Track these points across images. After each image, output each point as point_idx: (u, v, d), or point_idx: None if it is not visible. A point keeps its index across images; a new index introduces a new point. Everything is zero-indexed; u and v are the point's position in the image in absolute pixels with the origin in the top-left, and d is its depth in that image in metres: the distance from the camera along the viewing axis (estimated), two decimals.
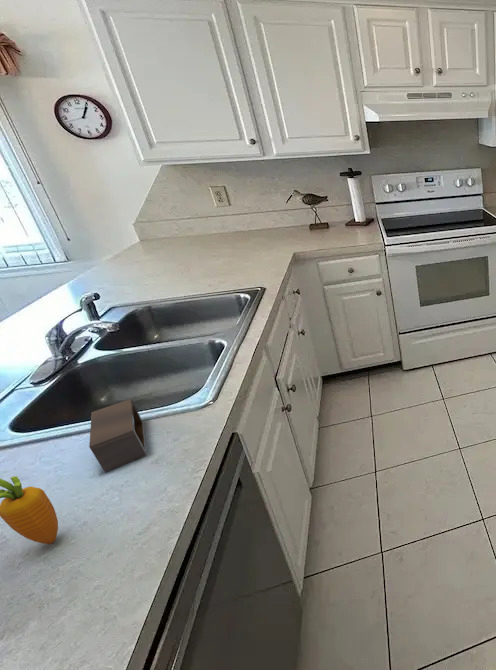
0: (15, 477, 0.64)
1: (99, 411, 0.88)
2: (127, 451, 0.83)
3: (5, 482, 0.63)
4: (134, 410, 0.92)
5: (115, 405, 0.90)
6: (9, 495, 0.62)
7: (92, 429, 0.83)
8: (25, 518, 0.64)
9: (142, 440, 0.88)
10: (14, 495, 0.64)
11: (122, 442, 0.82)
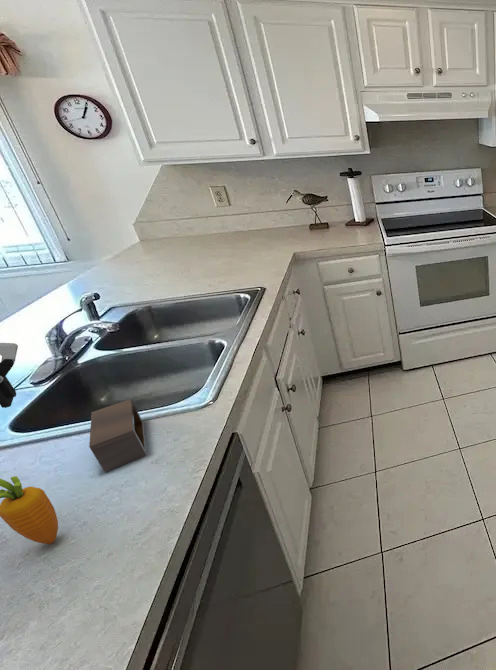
0: (15, 477, 0.64)
1: (99, 411, 0.88)
2: (127, 451, 0.83)
3: (5, 482, 0.63)
4: (134, 410, 0.92)
5: (115, 405, 0.90)
6: (9, 495, 0.62)
7: (92, 429, 0.83)
8: (25, 518, 0.64)
9: (142, 440, 0.88)
10: (14, 495, 0.64)
11: (122, 442, 0.82)
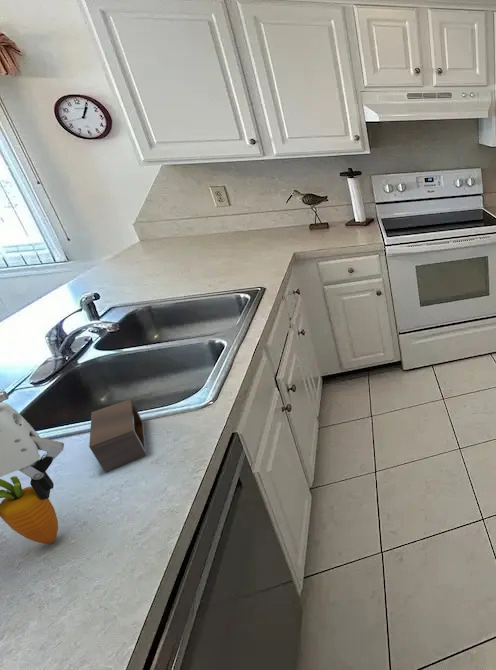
0: (15, 477, 0.64)
1: (99, 411, 0.88)
2: (127, 451, 0.83)
3: (5, 482, 0.63)
4: (134, 410, 0.92)
5: (115, 405, 0.90)
6: (9, 495, 0.62)
7: (92, 429, 0.83)
8: (25, 518, 0.64)
9: (142, 440, 0.88)
10: (14, 495, 0.64)
11: (122, 442, 0.82)
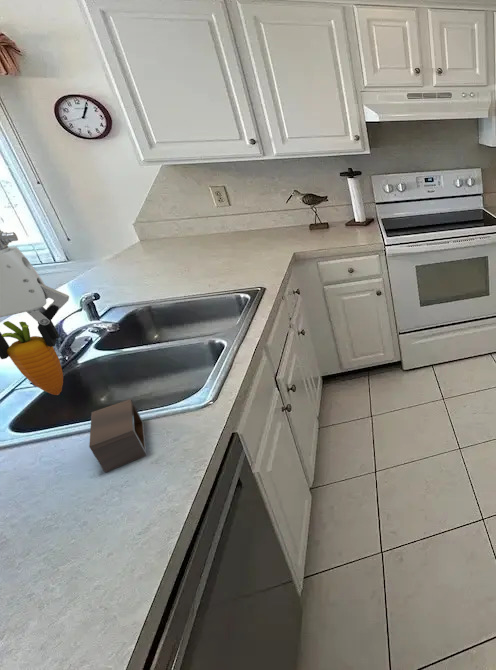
0: (23, 322, 0.68)
1: (99, 411, 0.88)
2: (127, 451, 0.83)
3: (14, 325, 0.68)
4: (134, 410, 0.92)
5: (115, 405, 0.90)
6: (18, 336, 0.67)
7: (92, 429, 0.83)
8: (32, 360, 0.68)
9: (142, 440, 0.88)
10: (22, 339, 0.68)
11: (122, 442, 0.82)
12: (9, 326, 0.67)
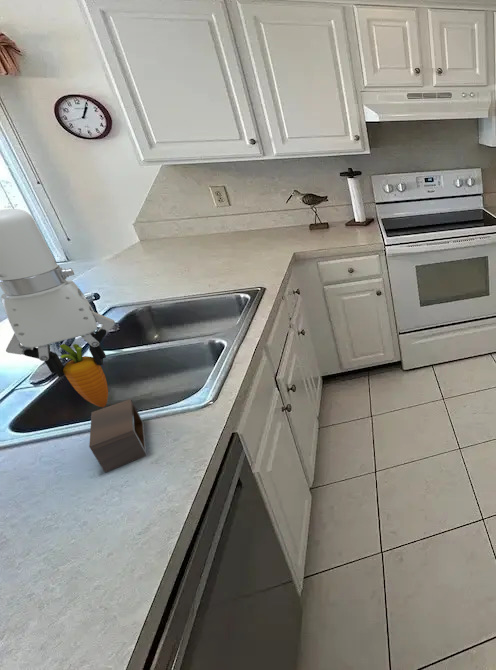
0: (76, 344, 0.78)
1: (99, 411, 0.88)
2: (127, 451, 0.83)
3: (69, 348, 0.78)
4: (134, 410, 0.92)
5: (115, 405, 0.90)
6: (72, 357, 0.77)
7: (92, 429, 0.83)
8: (85, 378, 0.78)
9: (142, 440, 0.88)
10: (76, 359, 0.78)
11: (122, 442, 0.82)
12: (65, 348, 0.77)
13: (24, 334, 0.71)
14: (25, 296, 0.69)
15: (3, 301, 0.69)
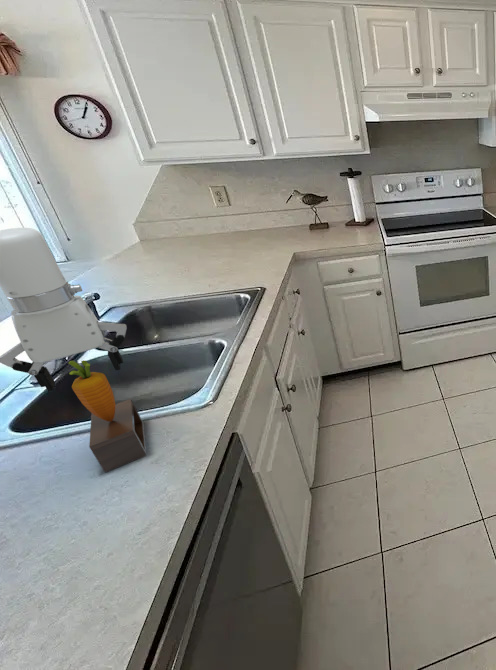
0: (85, 361, 0.80)
1: None
2: (127, 451, 0.83)
3: (77, 364, 0.79)
4: (134, 410, 0.92)
5: (115, 405, 0.90)
6: (81, 374, 0.79)
7: (92, 429, 0.83)
8: (93, 393, 0.80)
9: (142, 440, 0.88)
10: (84, 375, 0.80)
11: (122, 442, 0.82)
12: (73, 365, 0.79)
13: (33, 350, 0.73)
14: (35, 313, 0.70)
15: (13, 318, 0.70)
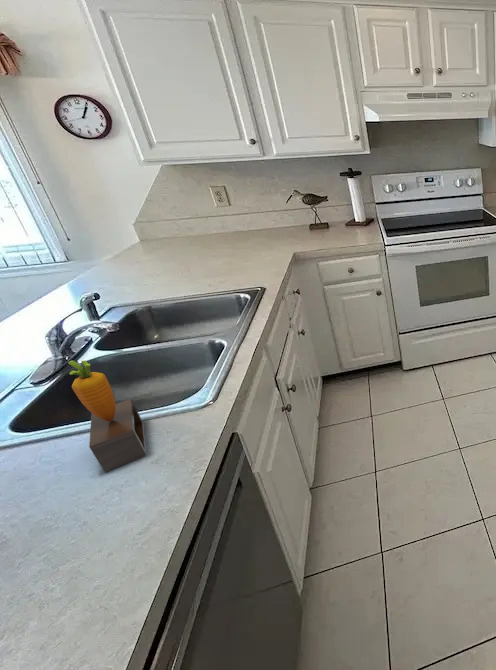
0: (85, 361, 0.80)
1: None
2: (127, 451, 0.83)
3: (77, 364, 0.79)
4: (134, 410, 0.92)
5: (115, 405, 0.90)
6: (81, 374, 0.79)
7: (92, 429, 0.83)
8: (93, 393, 0.80)
9: (142, 440, 0.88)
10: (84, 375, 0.80)
11: (122, 442, 0.82)
12: (73, 365, 0.79)
13: None
14: None
15: None
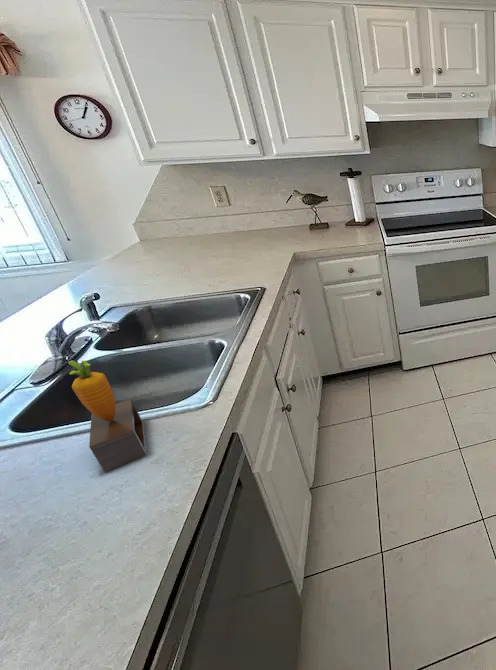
0: (85, 361, 0.80)
1: None
2: (127, 451, 0.83)
3: (77, 364, 0.79)
4: (134, 410, 0.92)
5: (115, 405, 0.90)
6: (81, 374, 0.79)
7: (92, 429, 0.83)
8: (93, 393, 0.80)
9: (142, 440, 0.88)
10: (84, 375, 0.80)
11: (122, 442, 0.82)
12: (73, 365, 0.79)
13: None
14: None
15: None
